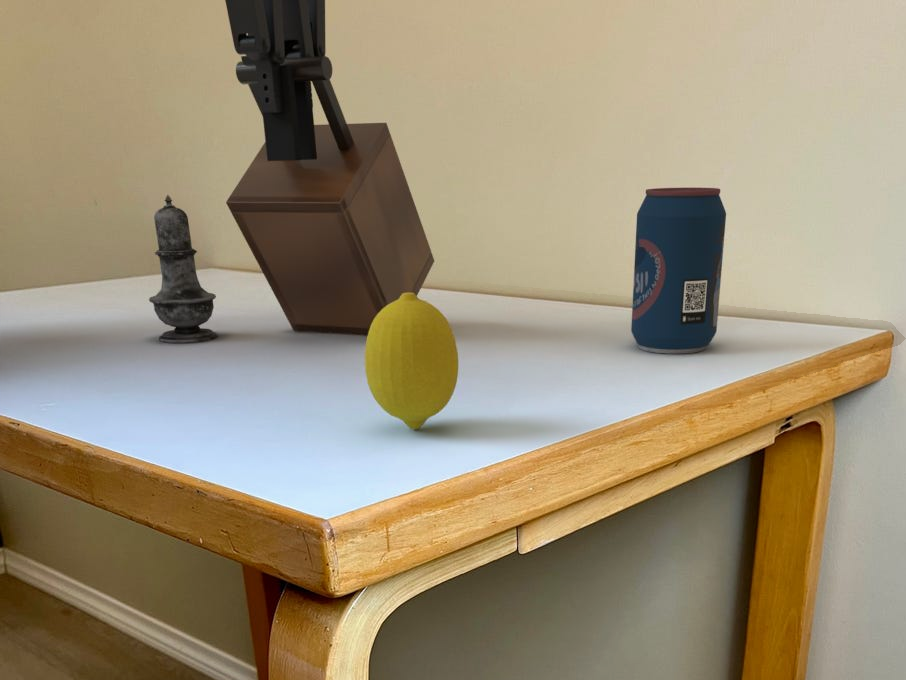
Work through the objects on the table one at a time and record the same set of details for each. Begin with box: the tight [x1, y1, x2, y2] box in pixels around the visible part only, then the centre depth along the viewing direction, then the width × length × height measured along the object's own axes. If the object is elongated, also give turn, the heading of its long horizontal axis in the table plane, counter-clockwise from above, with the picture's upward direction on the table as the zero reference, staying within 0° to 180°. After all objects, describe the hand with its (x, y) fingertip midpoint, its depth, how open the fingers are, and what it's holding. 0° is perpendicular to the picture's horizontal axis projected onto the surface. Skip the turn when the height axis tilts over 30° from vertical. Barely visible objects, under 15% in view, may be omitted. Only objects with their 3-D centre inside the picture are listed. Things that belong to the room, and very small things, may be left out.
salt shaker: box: [148, 194, 219, 344], centre depth 90 cm, size 6×6×12 cm
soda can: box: [630, 187, 727, 355], centre depth 81 cm, size 7×7×12 cm
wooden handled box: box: [225, 55, 435, 336], centre depth 86 cm, size 21×11×10 cm
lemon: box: [364, 292, 459, 430], centre depth 60 cm, size 6×6×8 cm
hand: (292, 159), depth 81 cm, fingers closed on wooden handled box, 2 cm apart
